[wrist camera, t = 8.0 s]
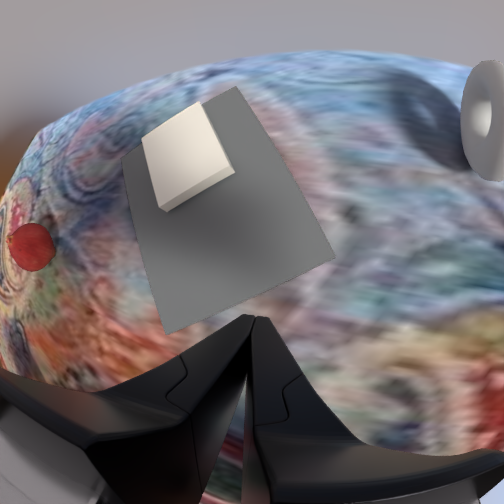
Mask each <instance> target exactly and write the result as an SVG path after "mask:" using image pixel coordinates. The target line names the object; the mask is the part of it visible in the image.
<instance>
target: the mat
mask: <svg viewBox="0 0 504 504" xmlns="http://www.w3.org/2000/svg"><path fill="white" fill-rule="evenodd" d="M202 106H203V107H204V109H205V111H206V113H207V115H208V117H209V119H210V121H211V123H212V125H213V127H214V129H215V131H216V133H217V135H218V138H219V140H220V142H221V144H222V146H223V148H224V150H225V152H226V154H227V156H228V158H229V160H230V162H231V165H232V167H233V169H234V171H235V173H233V174H232V175H230V176H228V177H226V178H224V179H223V180H221V181H219V182H217V183H215V184H214V185H212V186H210V187H208V188H207V189H205V190H203V191H201V192H200V193H198V194H196V195H195V196H193V197H191V198H189V199H188V200H186V201H184V202H183V203H181V204H179V205H178V206H176V207H175V208H173V209H171V210H170V211H168V212H166V211H164V210H162V209H161V208H159V206H158V203H157V199H156V195H155V192H154V188H153V184H152V180H151V176H150V172H149V169H148V164H147V160H146V156H145V152H144V148H143V144H142V143H141V144H140V145H138V146H137V147H136V148H134V149H133V150H132V151H130V152H129V153H127V154H126V155H125V156H123V157H122V158H121V163H122V169H123V175H124V180H125V186H126V191H127V196H128V201H129V205H130V210H131V215H132V219H133V224H134V228H135V232H136V236H137V240H138V244H139V248H140V252H141V256H142V260H143V263H144V267H145V270H146V274H147V277H148V281H149V284H150V288H151V291H152V294H153V297H154V301H155V304H156V307H157V310H158V313H159V316H160V319H161V322H162V325H163V328H164V331H165V334H166V335H169V334H171V333H173V332H176V331H178V330H180V329H183V328H185V327H187V326H190V325H192V324H194V323H197V322H199V321H201V320H204V319H206V318H208V317H210V316H213V315H215V314H217V313H219V312H222V311H224V310H226V309H228V308H231V307H233V306H235V305H237V304H239V303H242V302H244V301H246V300H248V299H250V298H253V297H255V296H257V295H259V294H261V293H263V292H265V291H268V290H270V289H272V288H274V287H276V286H278V285H280V284H282V283H284V282H287V281H289V280H291V279H293V278H295V277H297V276H299V275H301V274H303V273H305V272H307V271H309V270H311V269H313V268H315V267H317V266H319V265H321V264H323V263H325V262H327V261H329V260H331V259H333V258H335V257H336V256H335V254H334V252H333V250H332V248H331V246H330V244H329V242H328V240H327V238H326V236H325V234H324V232H323V231H322V229H321V227H320V225H319V223H318V221H317V219H316V217H315V215H314V214H313V212H312V210H311V208H310V206H309V204H308V203H307V201H306V199H305V197H304V195H303V194H302V192H301V190H300V188H299V186H298V185H297V183H296V181H295V179H294V178H293V176H292V174H291V173H290V171H289V169H288V167H287V166H286V164H285V162H284V161H283V159H282V157H281V156H280V154H279V152H278V151H277V149H276V147H275V146H274V144H273V142H272V141H271V139H270V137H269V136H268V134H267V133H266V131H265V129H264V128H263V126H262V125H261V123H260V122H259V120H258V118H257V117H256V115H255V114H254V112H253V111H252V109H251V108H250V106H249V105H248V103H247V101H246V100H245V98H244V97H243V95H242V94H241V92H240V91H239V90H238V88H237V87H236V86H235V87H233V88H231V89H229V90H228V91H226V92H224V93H222V94H220V95H218V96H216V97H214V98H213V99H211V100H209V101H207V102H206V103H204V104H202Z"/></svg>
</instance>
